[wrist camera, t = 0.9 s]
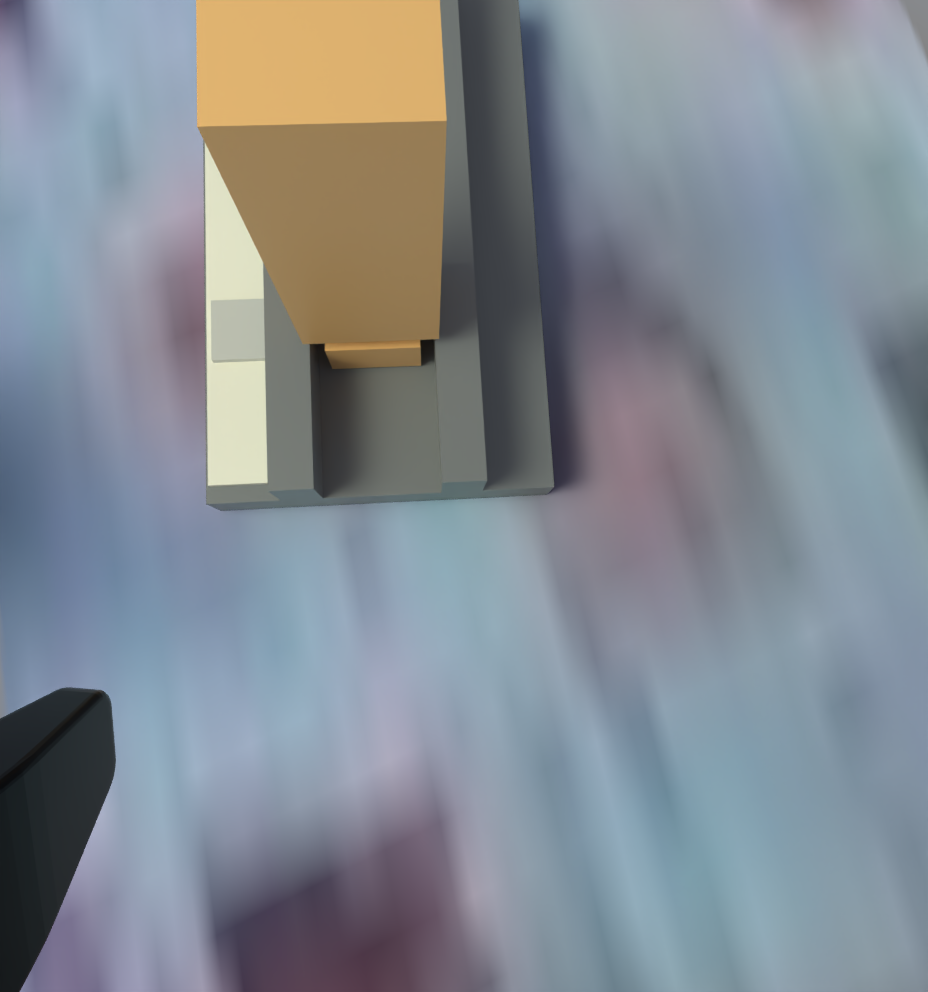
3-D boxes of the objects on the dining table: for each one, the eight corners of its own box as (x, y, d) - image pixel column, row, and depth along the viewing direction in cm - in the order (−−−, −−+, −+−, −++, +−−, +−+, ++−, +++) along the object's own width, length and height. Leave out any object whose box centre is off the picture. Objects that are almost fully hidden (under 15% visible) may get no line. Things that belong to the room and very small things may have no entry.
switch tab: (438, 365, 22) (446, 120, 11) (315, 369, 22) (196, 127, 11) (433, 287, 23) (438, -25, 11) (313, 292, 23) (196, -22, 11)
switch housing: (546, 494, 24) (565, 476, 20) (221, 510, 23) (186, 494, 20) (512, 31, 26) (525, -53, 23) (215, 36, 25) (183, -49, 22)
